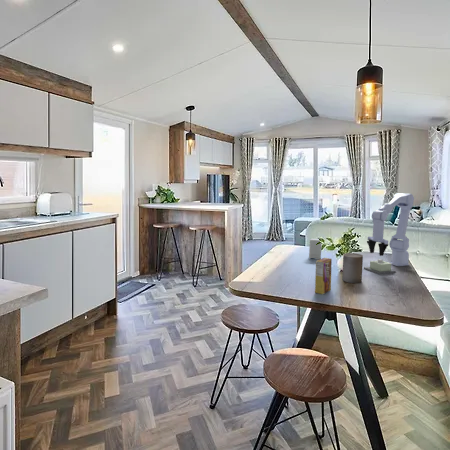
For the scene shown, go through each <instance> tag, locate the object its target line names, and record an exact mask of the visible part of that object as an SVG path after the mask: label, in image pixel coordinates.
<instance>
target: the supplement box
mask: <svg viewBox="0 0 450 450" xmlns="http://www.w3.org/2000/svg"><path fill="white" fill-rule="evenodd" d="M319 239H320V238H309V248H308V249H309V250H308V251H309V253H308V257H309V258H316V259H315V260H320V259H322V243H320V244H318V245H316V244H317V243H318V242H320V241H319Z"/></svg>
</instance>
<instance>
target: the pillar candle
mask: <svg viewBox="0 0 450 450" xmlns="http://www.w3.org/2000/svg"><path fill="white" fill-rule="evenodd" d="M363 256H364V255H363V254H361V253H355V252H347V253H343V255H342V278H341V280H342V281H343V282H346V283H350V284H351V283H352V284H359V283H362V280H363V279H362V277H363V261H364V257H363Z"/></svg>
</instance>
